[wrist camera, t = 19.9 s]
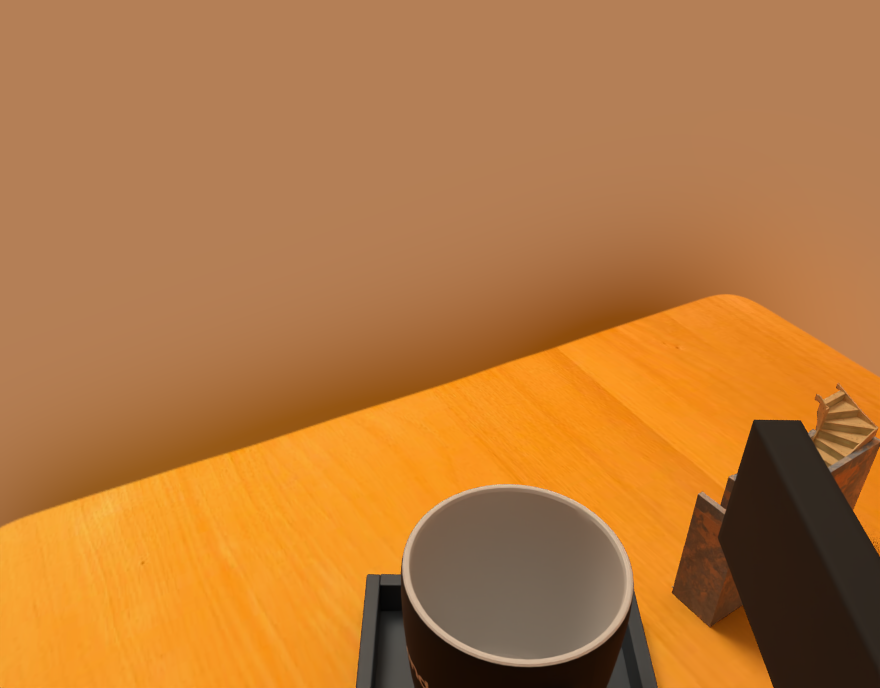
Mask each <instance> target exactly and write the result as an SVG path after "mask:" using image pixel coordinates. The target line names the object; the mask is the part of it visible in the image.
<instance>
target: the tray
mask: <svg viewBox="0 0 880 688" xmlns="http://www.w3.org/2000/svg"><path fill="white" fill-rule="evenodd" d="M356 688H414V684H413V680H412V675H411V670H410V665H409V659H408V653H407V646H406V639H405V632H404V623H403V613H402V599H401V575H394V574H381V576H380V575H374V574H368V575H367V579H366V590H365V600H364V610H363V620H362V630H361V641H360V651H359V661H358V671H357V681H356ZM607 688H658V686H657V682H656V678H655V674H654V670H653V666H652V662H651V658H650V654H649V650H648V645H647V641H646V637H645V633H644V629H643V625H642V621H641V617H640V613H639V609H638V604H637V600H636V596H635V592H634V591H633V601H632V607H631V612H630V617H629V622H628V625H627V629H626V633H625V636H624V639H623V642H622V646H621V649H620V652H619V655H618V658H617V661H616V664H615V667H614V670H613V673H612V675H611V678H610V680H609V683H608V685H607Z"/></svg>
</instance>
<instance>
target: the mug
mask: <svg viewBox="0 0 880 688" xmlns="http://www.w3.org/2000/svg"><path fill="white" fill-rule="evenodd" d="M633 591H634V582H633V572H632V568H631V564H630V561H629V558H628V555H627V553H626V551H625V548H624V547H623V545H622V543H621V542H620V540H619V539H618V537H617V536H616V534H615V533H614V532H613V531H612V529H611V528H610V527H609V526H608V525H607V524H606V523H605V522H604V521H603V520H602V519H601V518H600V517H598V516H597V515H596V514H595V513H593V512H592V511H591V510H589V509H588V508H586V507H585V506H583V505H581V504H580V503H578V502H576V501H574V500H572V499H570V498H568V497H566V496H563V495H561V494H558V493H556V492H552V491H549V490H546V489H542V488H538V487H532V486H526V485H513V484H501V485H489V486H483V487H478V488H474V489H470V490H467V491H464V492H461V493H458V494H456V495H454V496H452V497H450V498H448V499H446V500H444V501H442V502H441V503H439V504H438V505H436V506H435V507H434V508H432V509H431V510H430V511H429V512H427V513H426V514H425V515H424V516H423V517H422V518H421V520H420V521H419V522H418V523H417V525H416V526H415V528H414V529H413V531H412V532H411V534H410V536H409V538H408V540H407V543H406V546H405V549H404V554H403V558H402V567H401V599H402V613H403V623H404V632H405V639H406V646H407V653H408V659H409V665H410V670H411V675H412V680H413V684H414V688H607V685H608V683H609V680H610V678H611V675H612V673H613V670H614V667H615V664H616V661H617V658H618V655H619V652H620V649H621V646H622V642H623V639H624V636H625V633H626V629H627V625H628V622H629V617H630V612H631V607H632V601H633Z"/></svg>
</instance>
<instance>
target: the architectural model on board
mask: <svg viewBox="0 0 880 688" xmlns="http://www.w3.org/2000/svg"><path fill="white" fill-rule="evenodd" d="M836 388H837V389H838V390H840V391H838V392H837V393H835V394H833V395H831V396H829V397H827V398H825V399H824V400H823V399H822V397H821V396H820V395H818V394H816V397H815V400H816V401H818V402H819V403H820V405H819V408H818V411H817V426H816V430H814V429H812V430H811V431H810V432H809V433H808V434H809V436H810V437H811V439H812V441H813V443H814V444H815V446H816V448H817V450H818V451H819V453H820V455H821V456H822V458H823V460H824V462H825V463H826V465H827V467H828V469H829V470H830V472H831V474H832V475H833V477H834V479H835V481H836V482H837V484H838V486H839V488H840V489H841V491H842V493H843V494H844V496H845V498H846V500H847V501H848V503H849V505H850V507H851V508H852V510H853V509H854V506H855V504H856V502H857V499H858V497H859V494H860V492H861V490H862V487H863V485H864V482H865V480H866V478H867V475H868V473H869V471H870V468H871V466H872V463H873V461H874V459H875V456H876V454H877V451H878V449H879V447H880V439H878V438H876V437H875V435H876V432H877V430H878V428H879V427H877V426H876V425H875V424H874V423H873V422H872V421H871V420H870V419H869V418H868V417H867V415H866V414H865V413H864V412H863V411H862V410H861V409H860V408H859V407H858V406H857V404H856V403H855V402H854V401H853V400H852V398H851V397H850V396H849V395H848V394H847V392H846V391H845V390H844V389H843V388H842V387H841V385H840V384H839V383H838V384H837V386H836ZM736 476H737V474H735V475H731V476H729V478H728V481H727V485H726V488H725V491H724V495H723V498H722V502H721V505H719V504H718V503H716V502H715V501H714V500H713V499H711V498H710V497H709V496H707V495H706V494H705V493H703V492H701V493H699V494H698V497H697V500H696V504H695V508H694V512H693V515H692V519H691V523H690V527H689V531H688V534H687V538H686V542H685V546H684V549H683V553H682V557H681V561H680V564H679V568H678V572H677V576H676V579H675V583H674V587H673V586H672V588H673V591H672V593H673V594H674V595H675V596H676V597H677V598H678V599H679V600H680V601H681V602H682V603H684V604H685V605H686V606H687V607H688V608H689V609H690V610H691V611H692V612H693V613H695V614H696V615H697V616H698V617H699V618H700V619H701V620H702V621H703V622H704V623H706V624H707V625H708V626H709V627H711V626H712V625H714V624H715V623H717V622H718V621H720V620H721V619H723V618H724V617H726V616H727V615H728V614H730V613H731V612H733V611H734V610H736V609H737V608H739V607H740V606H742V605H743V604H742V601H741V599H740V596H739V593H738V591H737V588H736V585H735V583H734V580H733V577H732V575H731V572H730V569H729V567H728V564H727V561H726V559H725V556H724V553H723V551H722V548H721V545H720V543H719V540H718V535H719V531H720V528H721V525H722V522H723V518H724V515H725V512H726V509H727V505H728V502H729V499H730V495H731V492H732V489H733V486H734V482H735V479H736Z"/></svg>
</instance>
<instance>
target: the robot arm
mask: <svg viewBox="0 0 880 688" xmlns="http://www.w3.org/2000/svg"><path fill="white" fill-rule="evenodd" d="M718 540H719V543H720V545H721V548H722V551H723V553H724V556H725V559H726V561H727V564H728V567H729V569H730V572H731V575H732V577H733V580H734V583H735V585H736V588H737V591H738V593H739V596H740V599H741V601H742V604H743V607H744V609H745V612H746V615H747V617H748V620H749V623H750V625H751V628H752V631H753V633H754V636H755V639H756V641H757V644H758V647H759V649H760V652H761V655H762V657H763V660H764V663H765V665H766V668H767V671H768V673H769V676H770V679H771V681H772V684H773V687H774V688H880V557H879V555H878V553H877V551H876V550H875V548H874V546H873V545H872V543H871V541H870V539H869V538H868V536H867V534H866V532H865V531H864V529H863V527H862V526H861V524H860V522H859V520H858V519H857V517H856V515H855V513H854V512H853V510H852V508H851V507H850V505H849V503H848V501H847V500H846V498H845V496H844V494H843V493H842V491H841V489H840V488H839V486H838V484H837V482H836V481H835V479H834V477H833V475H832V474H831V472H830V470H829V469H828V467H827V465H826V463H825V462H824V460H823V458H822V456H821V455H820V453H819V451H818V450H817V448H816V446H815V444H814V443H813V441H812V439H811V437H810V436H809V434H808V432H807V431H806V429H805V427H804V425H803V424H802V422H801V421H799V420H754V421H753V424H752V427H751V430H750V434H749V437H748V440H747V443H746V447H745V450H744V453H743V456H742V460H741V463H740V466H739V469H738V473H737V476H736V479H735V482H734V486H733V489H732V492H731V495H730V499H729V502H728V505H727V509H726V512H725V515H724V518H723V522H722V525H721V528H720V531H719V535H718Z"/></svg>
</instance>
